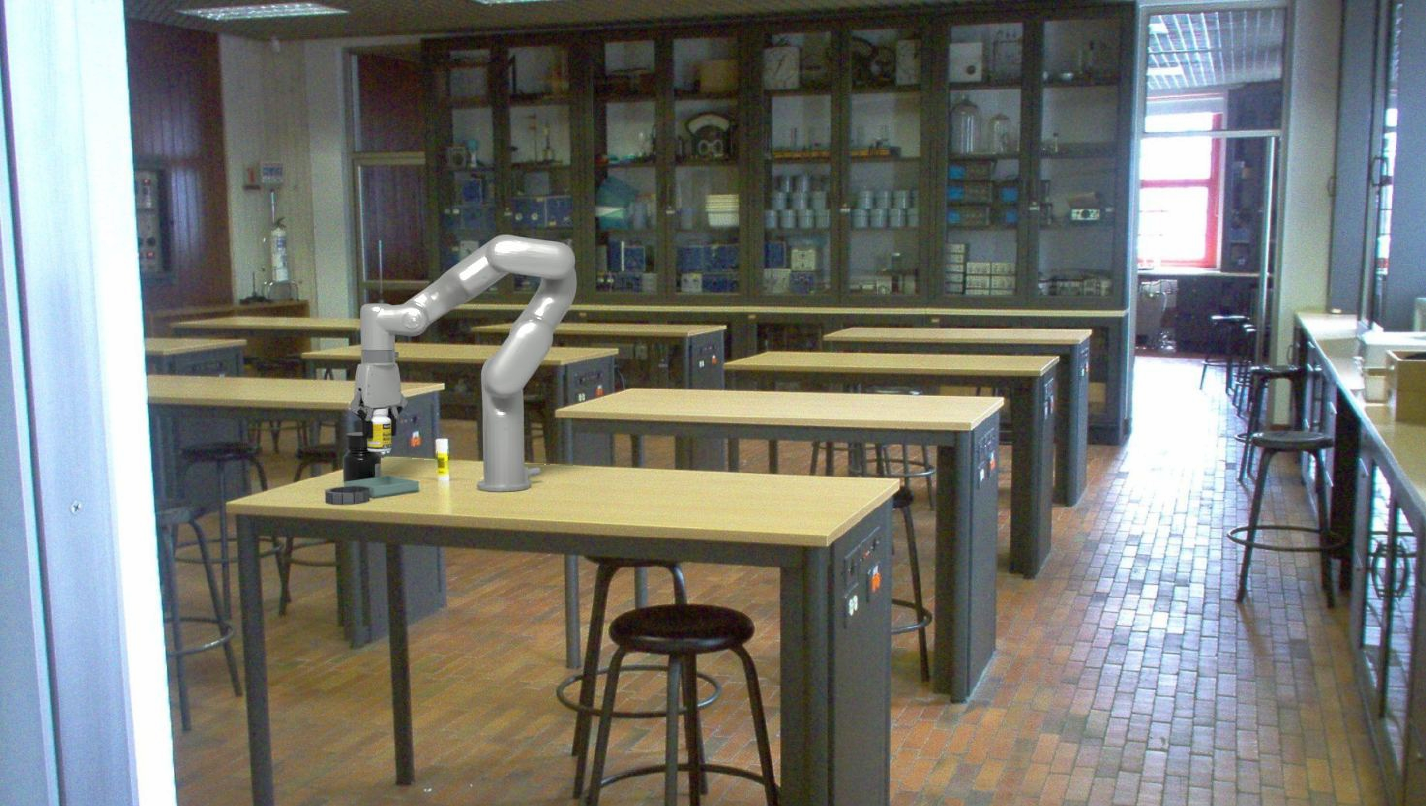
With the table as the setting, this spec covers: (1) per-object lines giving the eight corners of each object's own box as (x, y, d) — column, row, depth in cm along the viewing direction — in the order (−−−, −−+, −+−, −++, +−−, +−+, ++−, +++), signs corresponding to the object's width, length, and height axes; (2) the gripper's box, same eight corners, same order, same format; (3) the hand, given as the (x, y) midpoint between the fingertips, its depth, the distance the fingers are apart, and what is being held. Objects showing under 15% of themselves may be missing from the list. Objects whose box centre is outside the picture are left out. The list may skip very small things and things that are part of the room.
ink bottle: (387, 484, 316) (386, 434, 314) (351, 487, 311) (350, 437, 309) (373, 478, 324) (371, 430, 322) (337, 482, 319) (336, 432, 317)
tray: (388, 485, 313) (388, 475, 313) (418, 491, 305) (418, 481, 305) (344, 492, 304) (344, 481, 304) (374, 498, 296) (373, 487, 296)
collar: (354, 495, 300) (353, 484, 300) (377, 500, 294) (377, 489, 294) (317, 501, 293) (316, 490, 293) (340, 506, 287) (340, 495, 287)
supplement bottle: (385, 452, 301) (384, 410, 299) (363, 452, 302) (362, 409, 301) (395, 449, 306) (394, 407, 305) (373, 448, 307) (373, 406, 306)
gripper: (400, 355, 310) (401, 431, 312) (335, 358, 298) (337, 438, 299) (419, 357, 305) (420, 434, 307) (354, 360, 293) (356, 441, 294)
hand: (379, 435), depth 303 cm, fingers closed on supplement bottle, 5 cm apart
